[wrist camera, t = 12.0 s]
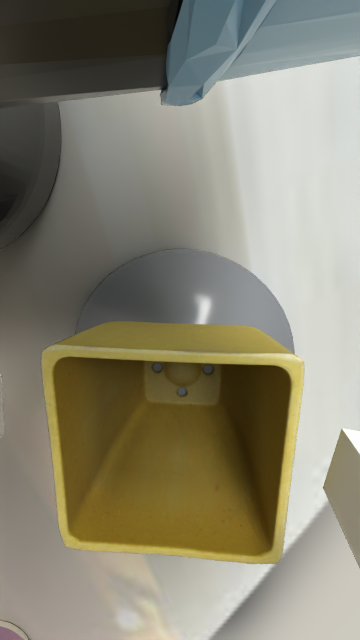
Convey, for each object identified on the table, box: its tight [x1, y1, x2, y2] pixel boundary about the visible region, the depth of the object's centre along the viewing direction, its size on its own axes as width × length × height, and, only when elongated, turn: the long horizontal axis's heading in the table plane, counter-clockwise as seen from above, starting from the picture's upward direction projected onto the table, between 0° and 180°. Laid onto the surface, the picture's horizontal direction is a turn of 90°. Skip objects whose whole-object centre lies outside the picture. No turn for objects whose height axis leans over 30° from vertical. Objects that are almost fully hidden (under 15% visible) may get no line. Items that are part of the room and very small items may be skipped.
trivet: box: [75, 249, 294, 395], centre depth 20 cm, size 14×14×1 cm
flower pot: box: [41, 321, 304, 564], centre depth 15 cm, size 9×9×9 cm
